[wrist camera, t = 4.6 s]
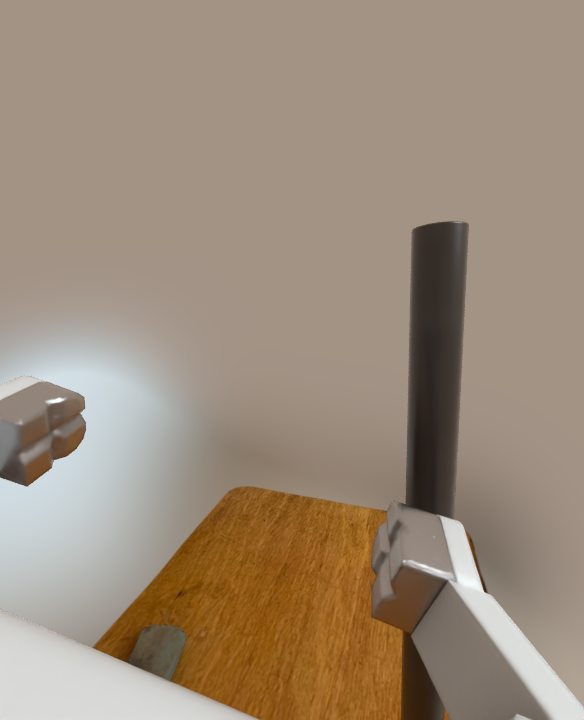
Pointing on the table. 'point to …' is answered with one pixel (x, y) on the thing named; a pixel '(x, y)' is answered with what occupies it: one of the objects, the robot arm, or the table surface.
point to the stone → (158, 650)
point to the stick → (433, 408)
